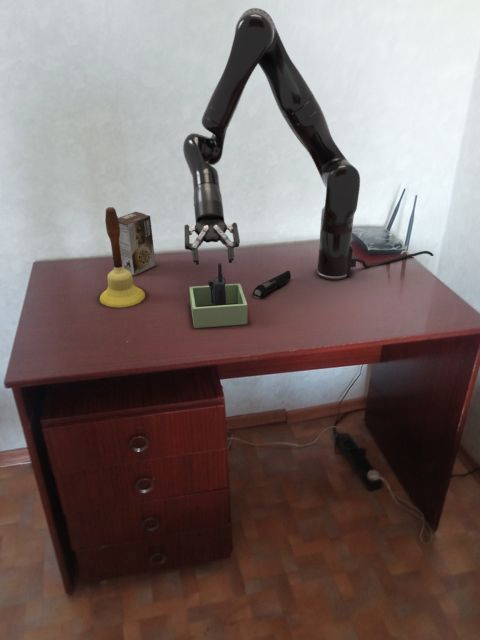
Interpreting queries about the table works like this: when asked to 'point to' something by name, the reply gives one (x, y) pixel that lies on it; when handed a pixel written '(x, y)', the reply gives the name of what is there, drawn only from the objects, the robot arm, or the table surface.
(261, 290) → the electric trimmer
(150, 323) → the table surface
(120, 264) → the handbell
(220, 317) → the square frame
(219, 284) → the two-way radio
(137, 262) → the coffee box
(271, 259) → the table surface
